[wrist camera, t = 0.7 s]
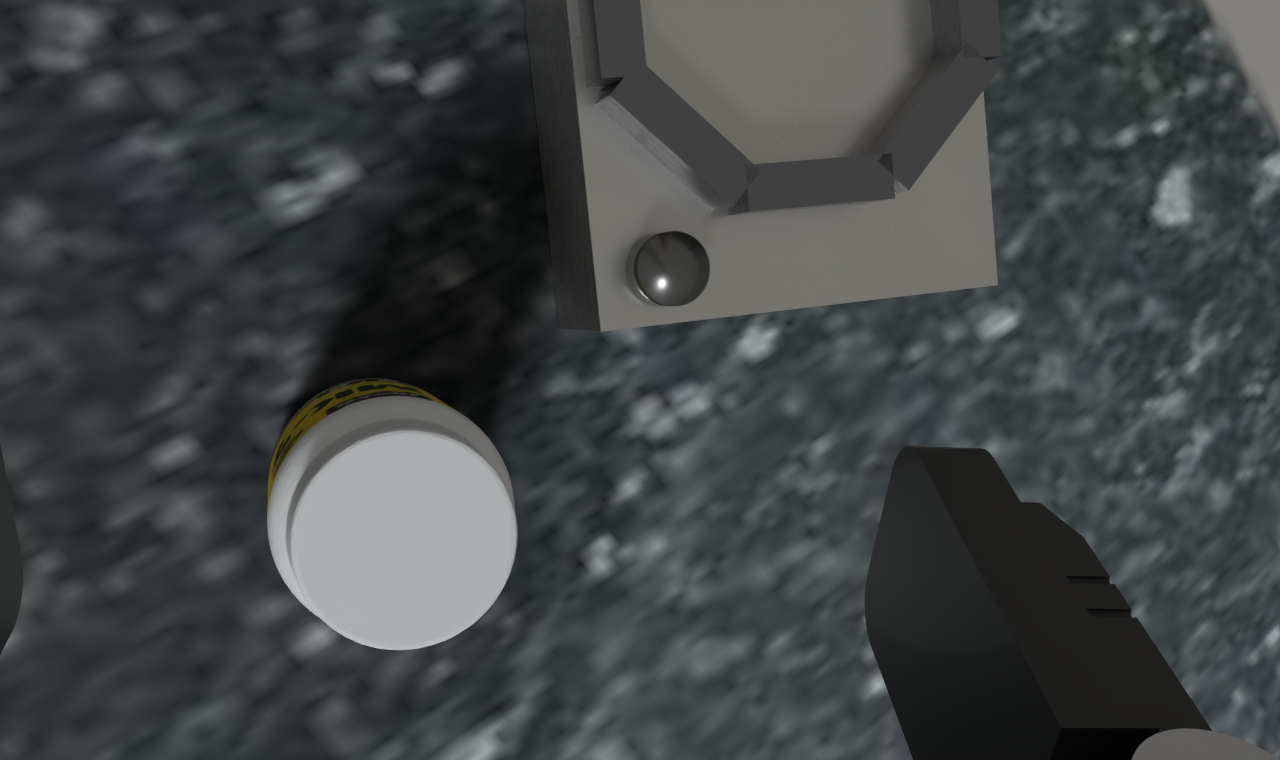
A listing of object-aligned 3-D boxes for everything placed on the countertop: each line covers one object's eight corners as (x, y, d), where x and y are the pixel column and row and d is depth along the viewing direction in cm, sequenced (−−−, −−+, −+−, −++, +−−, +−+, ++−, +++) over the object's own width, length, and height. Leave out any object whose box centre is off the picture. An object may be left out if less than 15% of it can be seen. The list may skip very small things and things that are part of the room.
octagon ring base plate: (496, -255, 29) (543, -369, 24) (871, -246, 32) (982, -346, 27) (558, 327, 30) (616, 333, 25) (913, 287, 33) (1027, 284, 28)
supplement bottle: (408, 340, 29) (462, 354, 21) (503, 504, 30) (589, 577, 22) (227, 443, 28) (212, 498, 20) (332, 610, 29) (357, 726, 21)
